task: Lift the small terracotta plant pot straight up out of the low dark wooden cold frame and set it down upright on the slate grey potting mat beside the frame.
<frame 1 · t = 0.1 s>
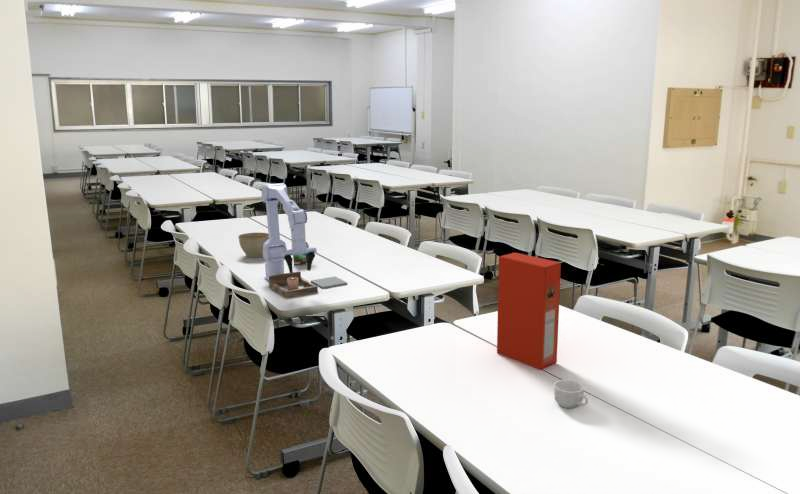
hand: (299, 271, 266), 10 cm above the table, tool pointing down, fingers open, 7 cm apart
teacup: (571, 406, 169), on the table
food container: (303, 263, 318), on the table
planter bowl: (255, 256, 335), on the table
potting mat: (328, 283, 284), on the table
cold frame: (293, 289, 275), on the table
file binder: (525, 359, 200), on the table
clay pot: (292, 284, 274), in the cold frame
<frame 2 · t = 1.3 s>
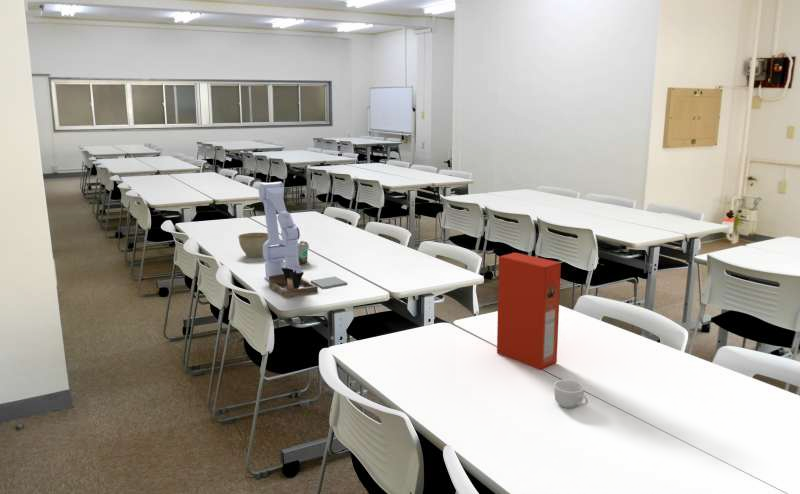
hand: (293, 285, 274), 2 cm above the table, tool pointing down, fingers open, 7 cm apart
nothing on the table moved.
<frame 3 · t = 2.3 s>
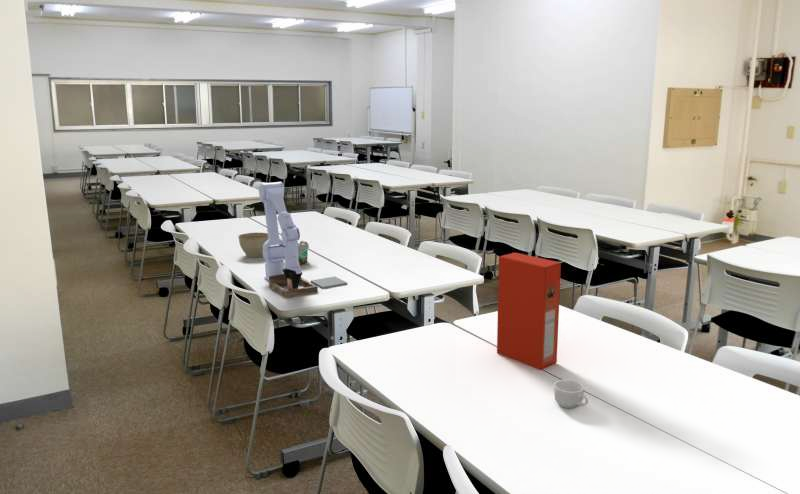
hand: (293, 286, 274), 1 cm above the table, tool pointing down, fingers closed on clay pot, 5 cm apart
clay pot: (292, 283, 274), resting in cold frame, touching gripper
everything else where it was.
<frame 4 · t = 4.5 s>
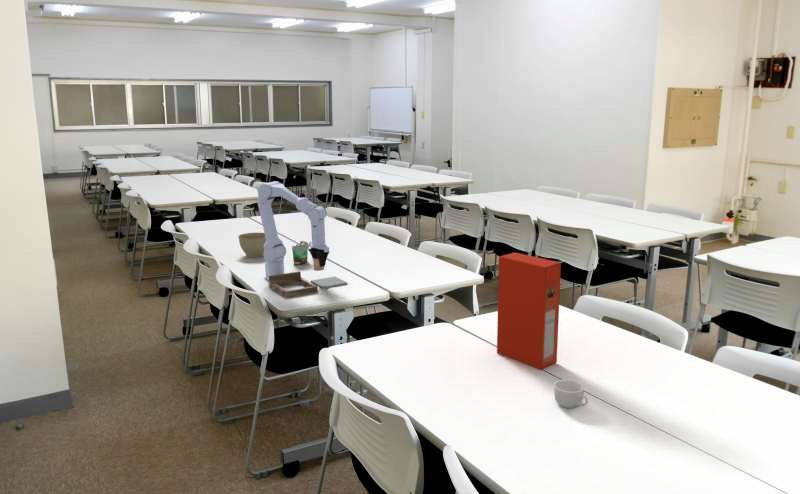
hand: (319, 265, 279), 9 cm above the table, tool pointing down, fingers closed on clay pot, 5 cm apart
clay pot: (318, 263, 279), point 10 cm above the table, touching gripper
everything else where it was.
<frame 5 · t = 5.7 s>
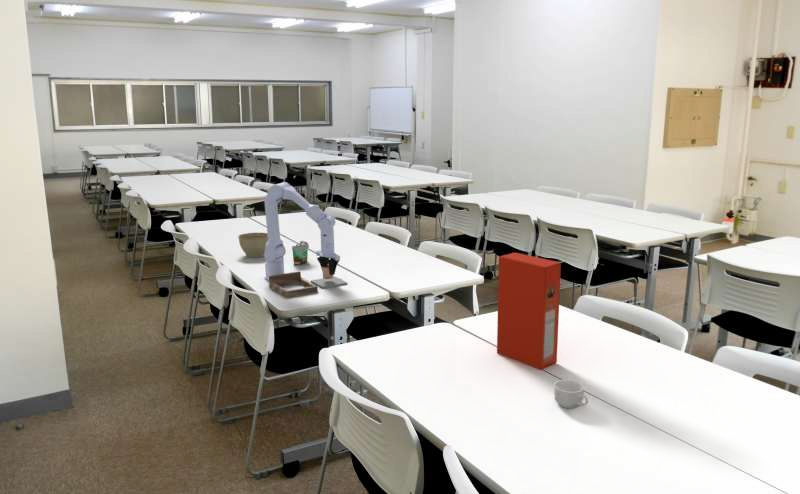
hand: (328, 273, 283), 4 cm above the table, tool pointing down, fingers closed on clay pot, 5 cm apart
clay pot: (327, 272, 282), point 5 cm above the table, touching gripper
everything else where it was.
when the fingers open (4 cm above the table, at t = 6.7 s): clay pot drops 1 cm, resting on potting mat.
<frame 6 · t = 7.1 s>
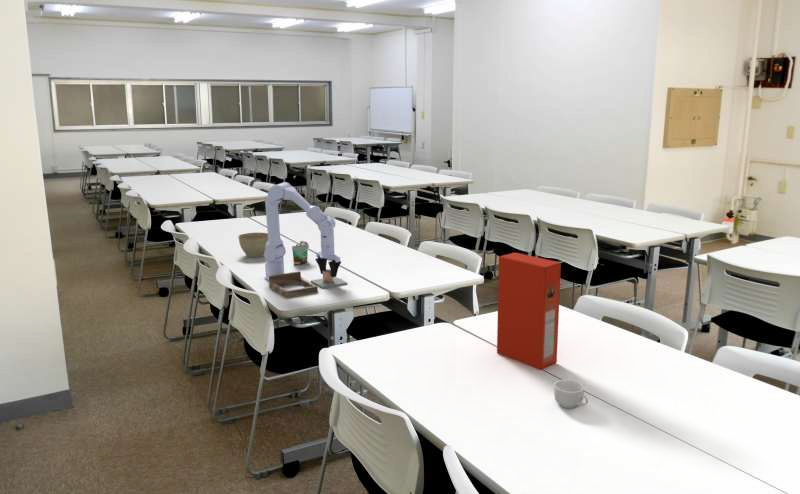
hand: (328, 275, 283), 4 cm above the table, tool pointing down, fingers open, 7 cm apart
clay pot: (328, 276, 283), on the potting mat, point 3 cm above the table
everything else where it was.
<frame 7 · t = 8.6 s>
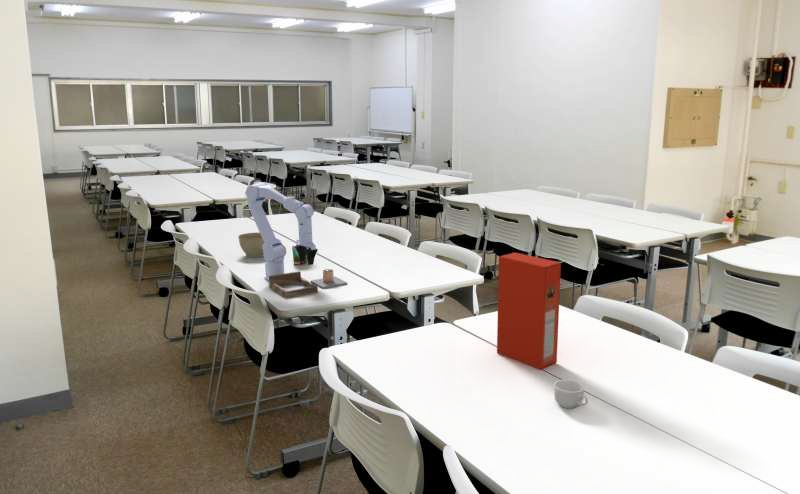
hand: (306, 262, 281), 9 cm above the table, tool pointing down, fingers open, 7 cm apart
nothing on the table moved.
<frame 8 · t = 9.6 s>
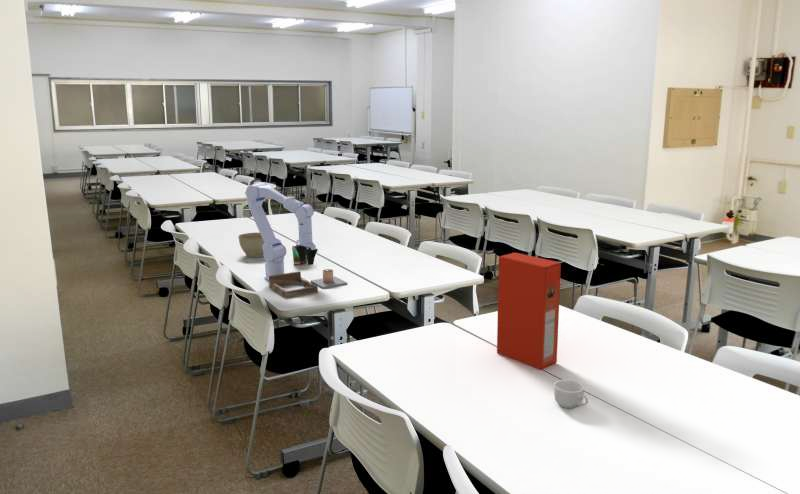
hand: (306, 262, 281), 9 cm above the table, tool pointing down, fingers open, 7 cm apart
nothing on the table moved.
at the end: clay pot inside the target area on the potting mat (0.4 cm from its centre), point 3.4 cm above the potting mat's base; clay pot tilted 2°; the gripper is holding nothing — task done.
